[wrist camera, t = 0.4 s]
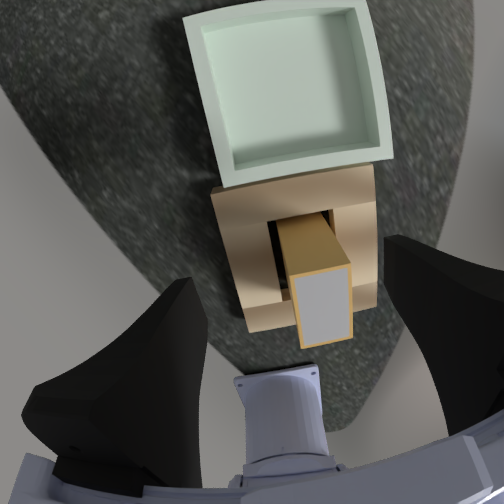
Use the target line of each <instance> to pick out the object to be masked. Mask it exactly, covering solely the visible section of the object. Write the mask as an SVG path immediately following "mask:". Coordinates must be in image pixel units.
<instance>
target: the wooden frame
mask: <svg viewBox="0 0 504 504" xmlns="http://www.w3.org/2000/svg"><path fill="white" fill-rule="evenodd" d="M210 195H211V199H212V203H213V206H214V210H215V214H216V217H217V221H218V225H219V228H220V232H221V236H222V239H223V243H224V246H225V250H226V253H227V257H228V261H229V264H230V268H231V271H232V275H233V278H234V282H235V285H236V289H237V292H238V295H239V299H240V302H241V306H242V309H243V313H244V316H245V319H246V323H247V326H248V329H249V333H251V332H257V331H263V330H269V329H274V328H280V327H285V326H290V325H296V321H295V316H294V311H293V307H292V302H291V297H290V292H289V288H286V289H281V290H280V285H279V280H278V275H277V270H276V265H275V260H274V255H273V250H272V245H271V240H270V235H269V230H268V225H267V221H272V220H277V219H282V218H287V217H292V216H297V215H303V214H308V213H313V212H319V211H324V210H328V212H329V221H330V229H331V230H332V232H333V234H334V235H335V237H336V238H337V240H338V242H339V243H340V245H341V247H342V249H343V250H344V252H345V254H346V255H347V257H348V259H349V260H350V262H351V271H352V303H353V312H356V311H360V310H364V309H369V308H373V307H376V304H377V219H376V199H375V183H374V171H373V164H371V163H369V162H362V163H355V164H349V165H342V166H336V167H330V168H324V169H318V170H312V171H306V172H300V173H295V174H290V175H284V176H279V177H274V178H269V179H264V180H259V181H254V182H249V183H244V184H239V185H235V186H230V187H226V188H224V187H223V186H219V187H214V188H213V189H212V192H211V194H210Z"/></svg>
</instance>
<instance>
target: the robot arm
mask: <svg viewBox="0 0 504 504" xmlns="http://www.w3.org/2000/svg"><path fill="white" fill-rule="evenodd" d="M384 285H385V287H386V290H387V292H388V294H389V296H390V299H391V301H392V303H393V305H394V306H395V308H396V310H397V311H398V313H399V315H400V316H401V318H402V319H403V321H404V323H405V324H406V326H407V327H408V329H409V330H410V332H411V334H412V335H413V337H414V339H415V341H416V342H417V344H418V346H419V348H420V349H421V352H422V353H423V355H424V358H425V360H426V363H427V365H428V367H429V370H430V372H431V375H432V378H433V381H434V383H435V386H436V389H437V392H438V395H439V398H440V402H441V405H442V409H443V412H444V416H445V419H446V424H447V429H448V434H449V437H447V438H444V439H441V440H437V441H434V442H432V443H429V444H427V445H424V446H421V447H419V448H416V449H414V450H411V451H408V452H405V453H402V454H399V455H396V456H393V457H390V458H387V459H384V460H380V461H377V462H374V463H370V464H367V465H363V466H360V467H355V468H351V469H348V468H347V467H346V466H345V465H343V464H339V465H336V462H335V457H334V455H332V456H329V451H328V446H327V441H326V436H325V431H324V425H323V420H322V405H321V393H320V381H319V371H318V366H317V365H316V364H310V365H305V366H300V367H294V368H289V369H283V370H278V371H272V372H265V373H259V374H252V375H245V376H238V377H235V378H234V384H235V387H236V389H237V391H238V393H239V396H240V398H241V400H242V403H243V405H244V407H245V414H246V415H245V417H246V464H245V465H243V475H235V476H234V478H233V479H232V480H231V481H230V482H229V485H228V488H202V479H201V468H200V453H199V395H200V386H201V380H202V374H203V367H204V361H205V353H206V347H207V333H208V319H207V317H206V314H205V312H204V309H203V306H202V304H201V301H200V299H199V296H198V293H197V291H196V288H195V285H194V283H193V280H192V277H188V278H182V279H177V280H175V281H174V282H173V283H172V284H171V285H170V286H169V287H168V288H167V289H166V290H165V291H164V292H163V293H162V294H161V295H160V296H159V297H158V299H157V300H156V301H155V302H154V303H153V304H152V305H151V306H150V307H149V308H148V309H147V310H146V311H145V312H144V313H143V314H142V315H141V316H140V317H139V318H138V319H137V320H136V321H135V322H134V323H133V324H132V325H131V326H130V327H129V328H128V329H127V330H126V331H125V332H123V333H122V334H121V335H120V336H119V337H118V338H116V339H115V340H114V341H113V342H111V343H110V344H109V345H108V346H106V347H105V348H103V349H102V350H101V351H99V352H98V353H96V354H95V355H93V356H92V357H91V358H89V359H88V360H86V361H85V362H83V363H81V364H79V365H78V366H76V367H74V368H73V369H71V370H69V371H67V372H65V373H63V374H61V375H59V376H57V377H55V378H53V379H51V380H48V381H46V382H44V383H42V384H39V385H37V386H35V387H34V389H33V391H32V393H31V395H30V397H29V399H28V401H27V403H26V405H25V407H24V409H23V411H22V414H21V416H22V419H23V422H24V424H25V425H26V427H27V428H28V429H29V430H30V431H31V432H32V434H34V435H35V436H36V437H37V438H38V439H39V440H40V441H41V442H42V443H44V444H45V445H46V446H47V447H48V448H49V449H51V450H52V451H53V452H54V453H55V454H57V455H58V457H57V460H56V463H55V462H53V461H51V460H49V459H47V458H44V457H40V456H37V455H33V454H30V453H26V454H25V456H24V459H23V462H22V464H21V467H20V470H19V473H18V475H17V478H16V481H15V484H14V487H13V490H12V493H11V497H10V500H9V503H8V504H504V271H502V270H497V269H493V268H488V267H485V266H481V265H478V264H475V263H471V262H468V261H465V260H462V259H460V258H457V257H454V256H452V255H449V254H447V253H444V252H442V251H439V250H437V249H435V248H432V247H430V246H428V245H425V244H423V243H421V242H418V241H416V240H413V239H411V238H408V237H405V236H402V235H399V234H397V235H393V236H388V237H384Z"/></svg>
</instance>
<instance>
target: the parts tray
mask: <svg viewBox="0 0 504 504" xmlns="http://www.w3.org/2000/svg"><path fill="white" fill-rule="evenodd" d="M183 22H184V26H185V31H186V35H187V39H188V43H189V48H190V52H191V56H192V60H193V65H194V69H195V73H196V77H197V81H198V85H199V90H200V94H201V98H202V102H203V106H204V110H205V114H206V118H207V122H208V127H209V131H210V135H211V139H212V143H213V147H214V151H215V155H216V159H217V163H218V167H219V171H220V175H221V179H222V183H223V187H224V188H226V187H230V186H235V185H239V184H244V183H249V182H254V181H259V180H264V179H269V178H274V177H279V176H284V175H290V174H295V173H300V172H306V171H312V170H318V169H324V168H330V167H336V166H342V165H349V164H355V163H362V162H369V161H377V160H384V159H392V158H393V146H392V136H391V126H390V118H389V110H388V103H387V96H386V90H385V83H384V78H383V72H382V67H381V61H380V56H379V52H378V47H377V42H376V38H375V34H374V29H373V25H372V21H371V17H370V14H369V10H368V6H367V3H366V0H265V1H258V2H252V3H246V4H240V5H235V6H230V7H225V8H220V9H215V10H211V11H207V12H203V13H199V14H195V15H191V16H188V17H184V18H183Z"/></svg>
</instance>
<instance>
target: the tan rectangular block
mask: <svg viewBox="0 0 504 504" xmlns="http://www.w3.org/2000/svg"><path fill="white" fill-rule="evenodd" d="M276 224H277V229H278V235H279V240H280V245H281V251H282V256H283V262H284V267H285V272H286V278H287V283H288V288H289V292H290V297H291V302H292V307H293V311H294V316H295V321H296V326H297V331H298V336H299V340H300V345H301V349H304V348H309V347H314V346H318V345H323V344H328V343H332V342H337V341H341V340H345V339H350V338H353V303H352V271H351V262H350V260H349V259H348V257H347V255H346V254H345V252H344V250H343V249H342V247H341V245H340V243H339V242H338V240H337V238H336V237H335V235H334V234H333V232H332V230H331V229H330V227H329V225H328V224H327V222H326V220H325V219H324V217H323V216H322V214H321V212H320V211H319V212H313V213H308V214H303V215H297V216H292V217H287V218H282V219H277V220H276Z"/></svg>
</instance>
